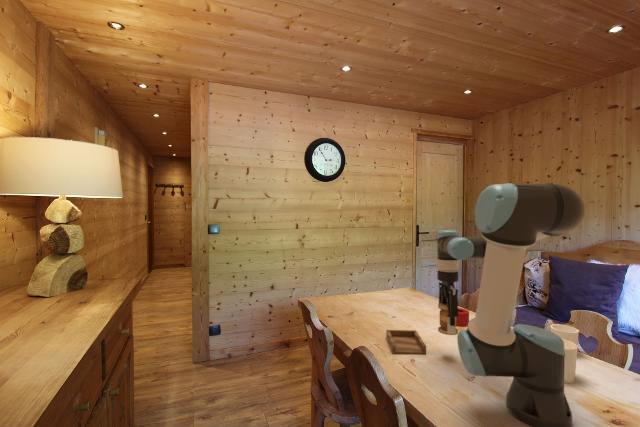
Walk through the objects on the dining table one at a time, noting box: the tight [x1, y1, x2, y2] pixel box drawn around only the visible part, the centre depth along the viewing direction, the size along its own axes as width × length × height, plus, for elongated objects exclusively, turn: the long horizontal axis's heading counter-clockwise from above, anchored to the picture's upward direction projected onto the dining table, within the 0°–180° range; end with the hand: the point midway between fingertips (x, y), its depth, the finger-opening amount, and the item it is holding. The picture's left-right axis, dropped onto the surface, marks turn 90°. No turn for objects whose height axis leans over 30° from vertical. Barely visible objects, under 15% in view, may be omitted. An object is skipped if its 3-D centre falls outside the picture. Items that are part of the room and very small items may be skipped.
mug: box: [549, 323, 580, 347], centre depth 127 cm, size 11×9×10 cm
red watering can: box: [456, 307, 470, 328], centre depth 164 cm, size 18×9×7 cm, turn 14°
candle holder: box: [562, 339, 579, 384], centre depth 109 cm, size 10×10×12 cm
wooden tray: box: [385, 329, 427, 356], centre depth 134 cm, size 16×13×4 cm
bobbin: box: [437, 303, 459, 336], centre depth 123 cm, size 7×7×10 cm
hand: (447, 330), depth 122 cm, fingers closed on bobbin, 7 cm apart
